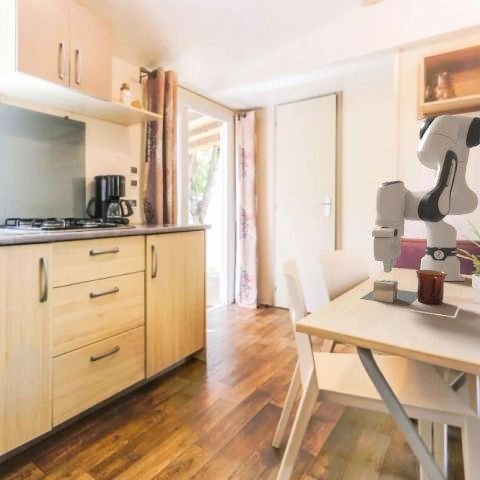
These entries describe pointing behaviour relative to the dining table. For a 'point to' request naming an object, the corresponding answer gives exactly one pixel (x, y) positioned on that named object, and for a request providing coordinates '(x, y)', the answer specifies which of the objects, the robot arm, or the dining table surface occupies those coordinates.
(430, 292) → the mug
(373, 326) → the dining table surface
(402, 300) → the mat
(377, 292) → the letter block
